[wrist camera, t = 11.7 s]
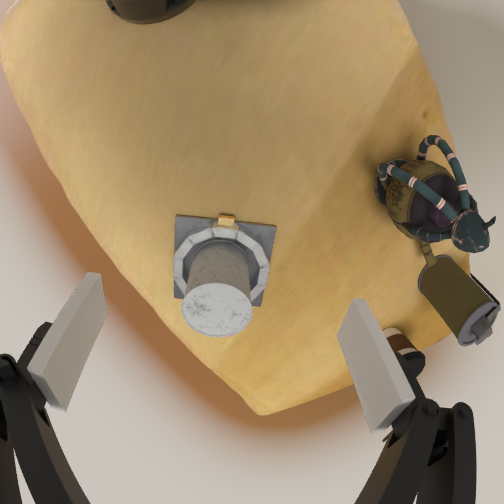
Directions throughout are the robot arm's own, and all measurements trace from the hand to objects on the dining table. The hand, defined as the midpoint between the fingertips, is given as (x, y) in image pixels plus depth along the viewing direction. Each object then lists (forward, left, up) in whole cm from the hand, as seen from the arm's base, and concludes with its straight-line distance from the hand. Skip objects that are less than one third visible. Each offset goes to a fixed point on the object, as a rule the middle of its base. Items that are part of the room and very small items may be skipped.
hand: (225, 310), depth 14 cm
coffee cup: (+32, +40, -32) cm, 60 cm away
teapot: (0, +30, -32) cm, 44 cm away
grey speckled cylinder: (+16, 0, -31) cm, 35 cm away
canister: (+14, +46, -32) cm, 58 cm away
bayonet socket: (+16, 0, -32) cm, 36 cm away
